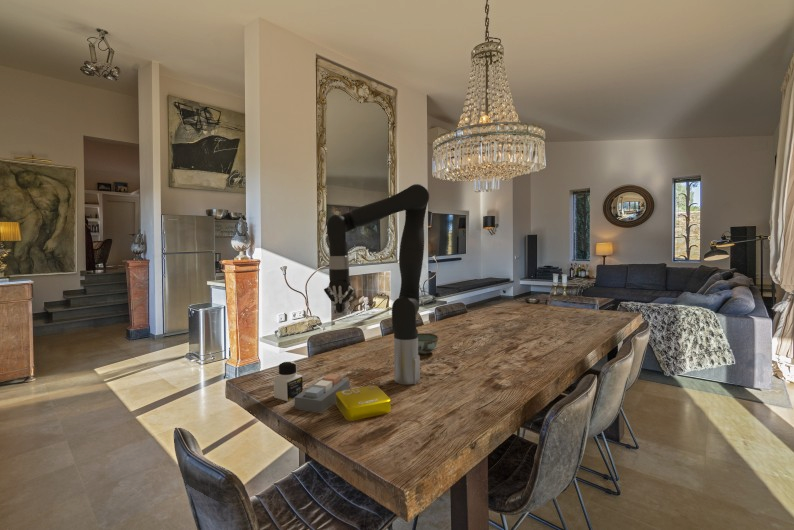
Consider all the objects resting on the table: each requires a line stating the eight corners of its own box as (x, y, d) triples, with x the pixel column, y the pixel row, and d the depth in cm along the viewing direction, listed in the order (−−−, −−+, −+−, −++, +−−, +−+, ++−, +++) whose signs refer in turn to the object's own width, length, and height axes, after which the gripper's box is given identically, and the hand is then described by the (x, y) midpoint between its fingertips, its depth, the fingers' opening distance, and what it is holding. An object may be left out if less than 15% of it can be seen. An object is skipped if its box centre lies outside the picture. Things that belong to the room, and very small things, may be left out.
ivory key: (332, 391, 135) (332, 381, 135) (326, 396, 131) (325, 386, 131) (321, 389, 136) (321, 380, 136) (314, 394, 132) (314, 384, 132)
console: (349, 389, 141) (349, 379, 141) (321, 413, 123) (321, 400, 122) (325, 386, 145) (325, 376, 145) (294, 408, 126) (294, 397, 126)
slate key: (323, 398, 129) (323, 388, 129) (316, 403, 125) (316, 393, 125) (312, 396, 131) (312, 386, 131) (305, 402, 127) (304, 391, 126)
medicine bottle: (287, 402, 132) (286, 367, 131) (273, 397, 135) (272, 364, 134) (303, 394, 138) (302, 361, 137) (289, 390, 141) (288, 358, 141)
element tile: (347, 423, 117) (347, 407, 116) (334, 404, 130) (334, 390, 130) (393, 413, 123) (392, 398, 123) (375, 396, 137) (375, 382, 136)
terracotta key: (340, 384, 141) (340, 375, 140) (334, 389, 136) (334, 379, 136) (329, 383, 142) (329, 373, 142) (323, 387, 138) (323, 377, 138)
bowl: (443, 351, 189) (443, 335, 188) (430, 358, 178) (430, 341, 177) (418, 347, 196) (418, 331, 196) (405, 354, 185) (404, 337, 184)
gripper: (359, 267, 149) (359, 311, 150) (328, 266, 153) (329, 310, 154) (350, 268, 142) (351, 315, 143) (318, 268, 146) (319, 313, 147)
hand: (340, 312), depth 149 cm, fingers closed
